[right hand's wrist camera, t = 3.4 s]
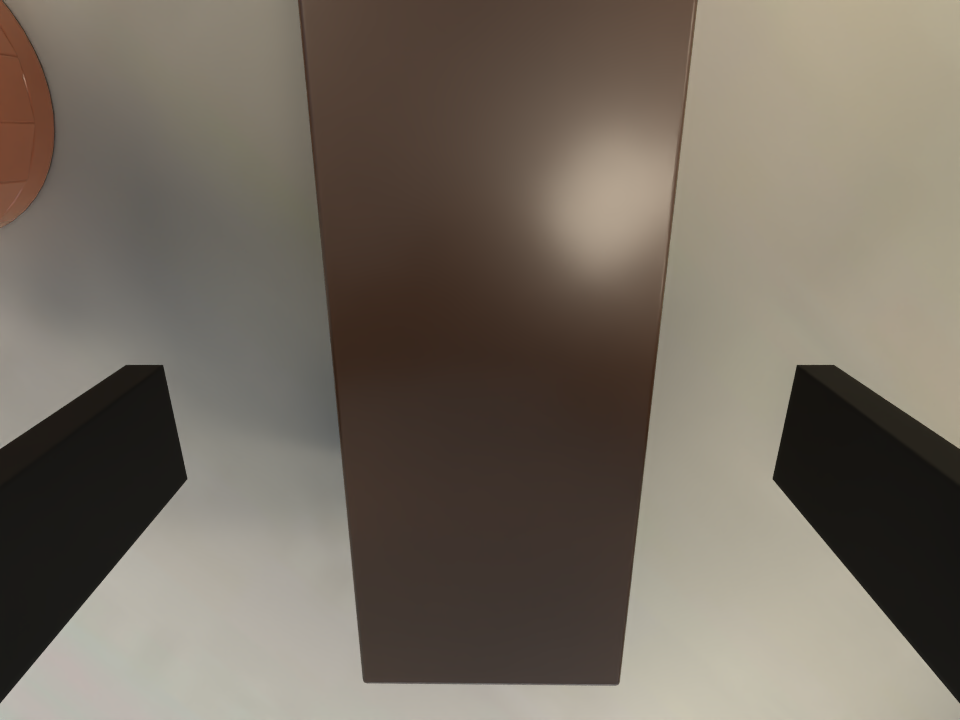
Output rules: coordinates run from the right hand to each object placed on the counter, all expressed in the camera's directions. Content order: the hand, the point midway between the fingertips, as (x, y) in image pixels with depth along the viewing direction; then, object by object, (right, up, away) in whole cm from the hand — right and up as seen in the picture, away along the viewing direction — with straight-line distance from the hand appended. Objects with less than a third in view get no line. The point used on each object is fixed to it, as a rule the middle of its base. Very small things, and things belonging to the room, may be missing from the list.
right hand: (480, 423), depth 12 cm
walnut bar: (0, +12, +1) cm, 12 cm away
